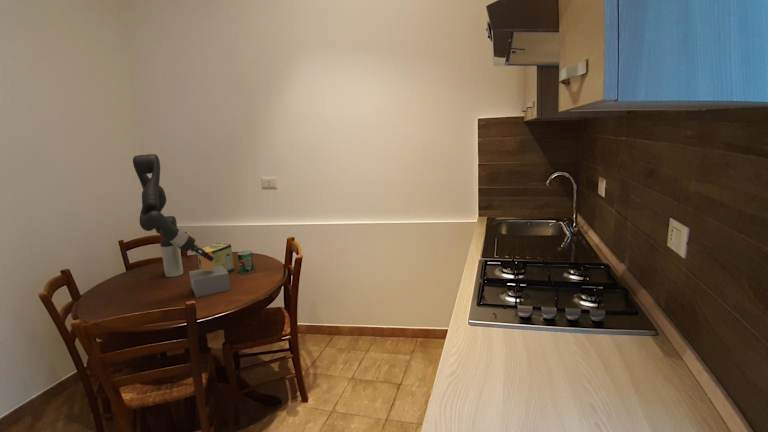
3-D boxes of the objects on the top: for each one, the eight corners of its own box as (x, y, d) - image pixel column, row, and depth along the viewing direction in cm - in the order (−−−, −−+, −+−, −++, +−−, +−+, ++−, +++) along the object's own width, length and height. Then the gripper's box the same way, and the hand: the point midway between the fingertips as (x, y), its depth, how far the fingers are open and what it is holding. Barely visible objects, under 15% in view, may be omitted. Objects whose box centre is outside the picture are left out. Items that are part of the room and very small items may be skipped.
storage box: (191, 288, 224) (189, 271, 222) (224, 281, 232) (222, 265, 230) (196, 298, 210) (193, 280, 208) (230, 290, 218) (228, 273, 216)
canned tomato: (257, 269, 248) (255, 251, 245) (247, 274, 241) (245, 255, 239) (246, 268, 251) (244, 250, 249) (236, 272, 244) (234, 253, 242)
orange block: (201, 268, 219) (199, 251, 217) (210, 266, 222) (208, 249, 220) (205, 270, 215) (202, 253, 214) (214, 268, 218) (211, 251, 217)
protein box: (199, 277, 239) (196, 250, 236) (220, 268, 253) (216, 242, 250) (215, 279, 235) (211, 251, 232) (234, 270, 249) (231, 243, 246)
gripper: (192, 236, 205) (221, 255, 215) (182, 231, 215) (209, 250, 225) (182, 249, 202) (211, 268, 213) (172, 244, 213) (200, 262, 223)
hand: (210, 258), depth 219 cm, fingers closed on orange block, 4 cm apart
